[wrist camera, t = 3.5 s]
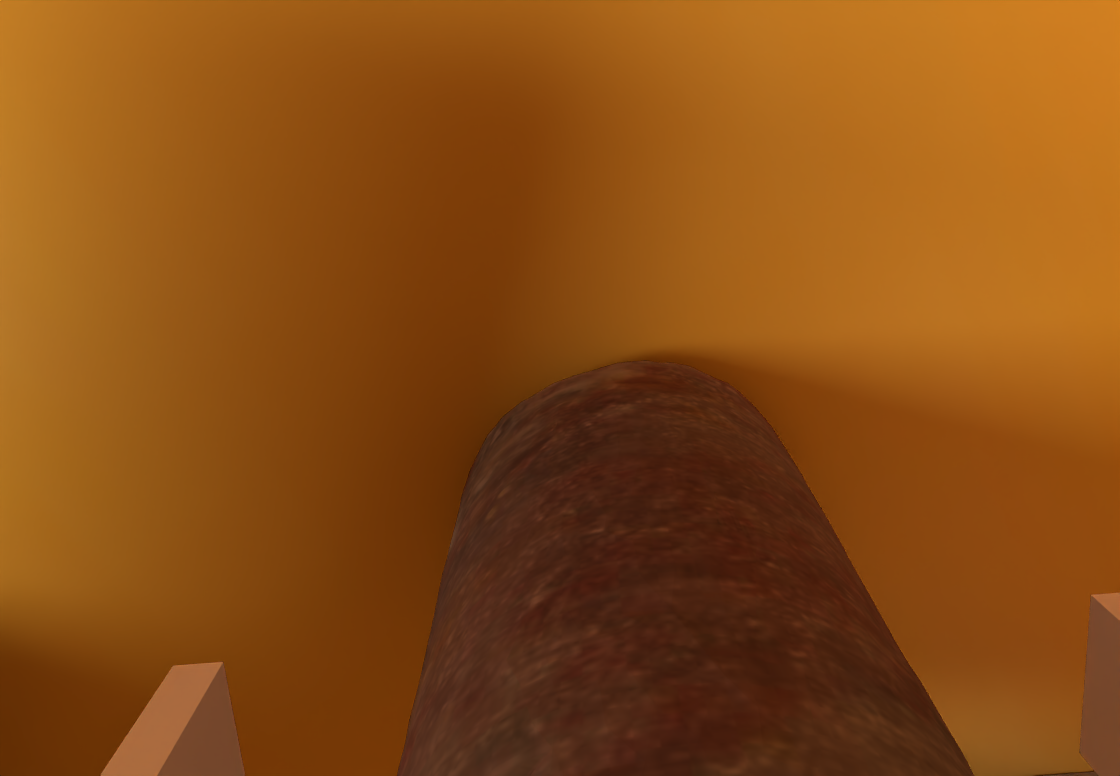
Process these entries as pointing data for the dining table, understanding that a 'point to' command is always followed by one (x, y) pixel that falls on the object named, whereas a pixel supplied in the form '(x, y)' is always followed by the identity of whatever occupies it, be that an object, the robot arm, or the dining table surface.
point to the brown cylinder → (657, 603)
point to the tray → (1077, 774)
